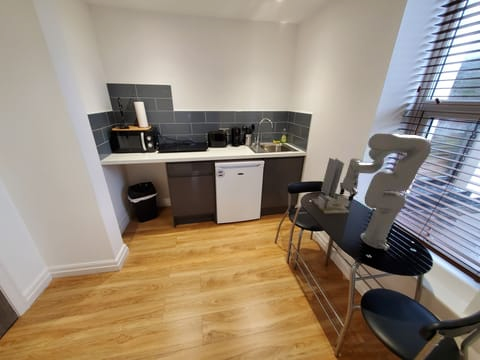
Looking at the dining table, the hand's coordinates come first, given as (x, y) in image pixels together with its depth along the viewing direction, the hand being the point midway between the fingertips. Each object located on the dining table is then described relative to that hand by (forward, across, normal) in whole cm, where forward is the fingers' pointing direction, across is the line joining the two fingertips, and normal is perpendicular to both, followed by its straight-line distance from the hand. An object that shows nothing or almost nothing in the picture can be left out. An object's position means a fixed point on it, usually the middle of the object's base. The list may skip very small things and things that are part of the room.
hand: (345, 197), depth 140 cm
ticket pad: (+7, +1, +15) cm, 17 cm away
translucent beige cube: (+6, +1, 0) cm, 7 cm away
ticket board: (+8, +1, +11) cm, 13 cm away
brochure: (+7, +21, 0) cm, 22 cm away
